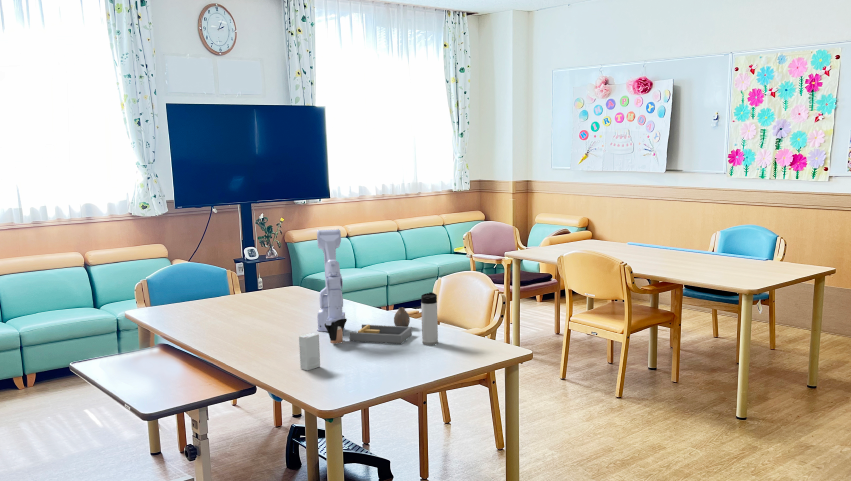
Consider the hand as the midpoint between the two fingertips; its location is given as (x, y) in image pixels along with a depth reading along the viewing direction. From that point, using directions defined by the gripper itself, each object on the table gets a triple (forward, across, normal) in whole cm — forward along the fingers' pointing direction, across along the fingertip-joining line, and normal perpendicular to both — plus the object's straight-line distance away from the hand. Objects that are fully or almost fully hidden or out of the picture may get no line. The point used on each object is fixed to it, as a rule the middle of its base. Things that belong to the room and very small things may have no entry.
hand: (336, 338), depth 278 cm
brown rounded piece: (+2, +27, -19) cm, 33 cm away
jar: (+2, 0, 0) cm, 2 cm away
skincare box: (+2, -34, -5) cm, 34 cm away
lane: (+1, +9, -16) cm, 18 cm away
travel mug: (+2, +6, -38) cm, 39 cm away
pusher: (+1, +9, -11) cm, 15 cm away
